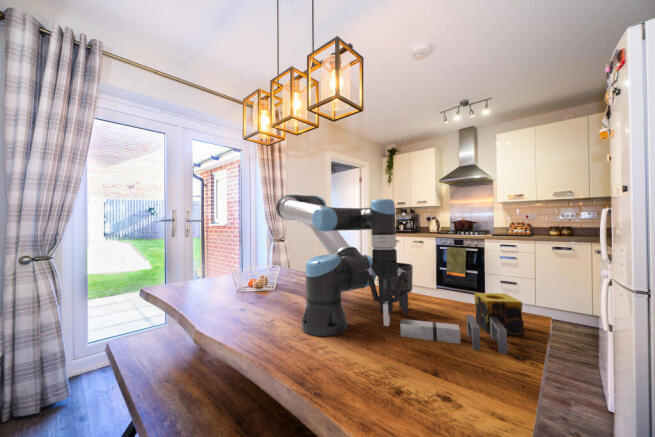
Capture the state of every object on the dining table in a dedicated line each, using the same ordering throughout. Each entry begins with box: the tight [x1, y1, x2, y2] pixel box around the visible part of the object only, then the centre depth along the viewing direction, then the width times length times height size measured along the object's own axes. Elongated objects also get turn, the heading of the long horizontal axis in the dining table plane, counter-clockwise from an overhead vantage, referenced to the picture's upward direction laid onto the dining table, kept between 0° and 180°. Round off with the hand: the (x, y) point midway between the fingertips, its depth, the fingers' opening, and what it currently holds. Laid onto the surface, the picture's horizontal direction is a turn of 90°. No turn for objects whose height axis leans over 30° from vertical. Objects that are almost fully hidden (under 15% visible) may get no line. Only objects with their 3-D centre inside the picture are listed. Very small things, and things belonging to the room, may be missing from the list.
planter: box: [384, 262, 414, 316], centre depth 101 cm, size 13×13×18 cm
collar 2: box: [490, 317, 508, 355], centre depth 71 cm, size 2×10×6 cm, turn 160°
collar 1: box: [466, 314, 481, 352], centre depth 73 cm, size 2×10×6 cm, turn 160°
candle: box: [474, 292, 525, 337], centre depth 82 cm, size 10×10×10 cm
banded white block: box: [400, 318, 462, 344], centre depth 77 cm, size 16×4×4 cm, turn 69°
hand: (386, 324), depth 81 cm, fingers closed
